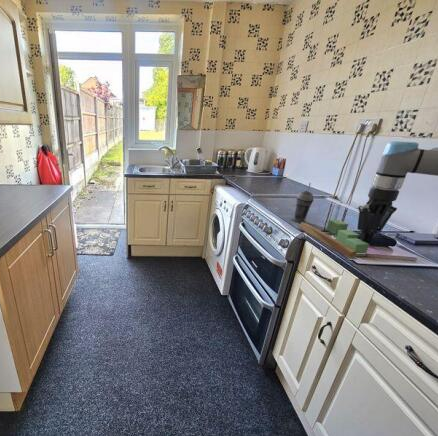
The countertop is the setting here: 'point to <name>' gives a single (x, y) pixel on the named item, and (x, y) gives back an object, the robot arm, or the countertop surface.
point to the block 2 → (357, 245)
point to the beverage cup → (303, 205)
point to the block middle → (345, 235)
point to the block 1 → (336, 226)
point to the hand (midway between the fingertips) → (362, 247)
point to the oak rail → (329, 240)
